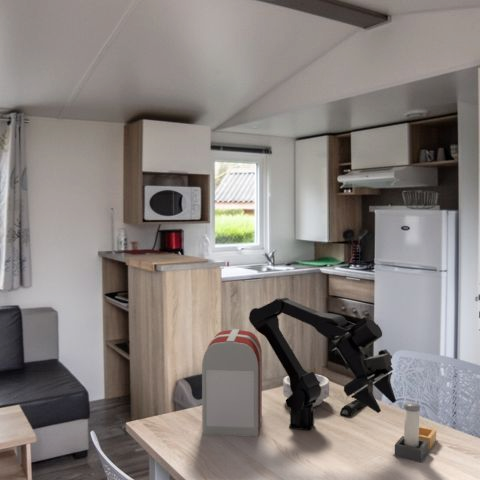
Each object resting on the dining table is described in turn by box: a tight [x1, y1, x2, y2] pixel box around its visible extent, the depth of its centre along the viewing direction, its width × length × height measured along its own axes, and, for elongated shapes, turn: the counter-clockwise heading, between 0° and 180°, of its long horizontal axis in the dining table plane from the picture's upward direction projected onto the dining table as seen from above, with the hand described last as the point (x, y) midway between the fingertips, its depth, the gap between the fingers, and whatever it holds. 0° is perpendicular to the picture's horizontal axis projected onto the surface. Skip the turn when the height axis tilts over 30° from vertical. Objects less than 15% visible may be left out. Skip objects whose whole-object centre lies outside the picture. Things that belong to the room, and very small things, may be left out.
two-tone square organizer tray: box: [392, 425, 439, 464], centre depth 148 cm, size 16×8×4 cm, turn 147°
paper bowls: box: [282, 373, 330, 407], centre depth 186 cm, size 15×15×8 cm
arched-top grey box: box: [201, 328, 263, 437], centre depth 167 cm, size 16×18×27 cm
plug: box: [403, 401, 421, 449], centre depth 144 cm, size 4×4×13 cm
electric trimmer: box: [339, 399, 366, 418], centre depth 180 cm, size 4×16×3 cm, turn 144°
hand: (387, 406), depth 149 cm, fingers open, 9 cm apart
